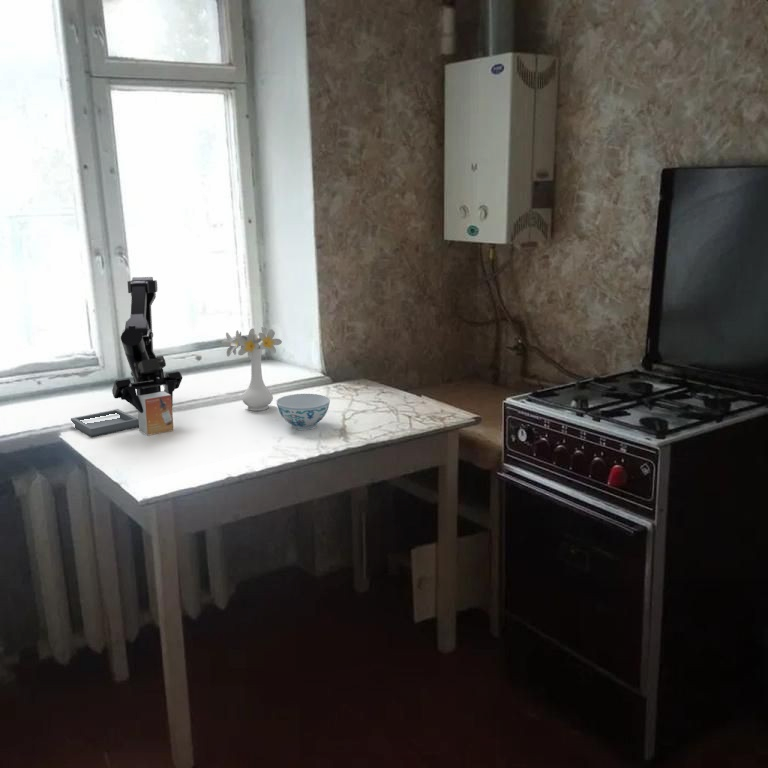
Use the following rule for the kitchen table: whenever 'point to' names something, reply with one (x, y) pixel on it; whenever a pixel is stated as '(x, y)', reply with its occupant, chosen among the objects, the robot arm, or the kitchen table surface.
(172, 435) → the kitchen table surface
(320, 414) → the chinaware
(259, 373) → the flower vase
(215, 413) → the kitchen table surface
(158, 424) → the small box
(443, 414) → the kitchen table surface
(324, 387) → the kitchen table surface
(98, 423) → the tray
